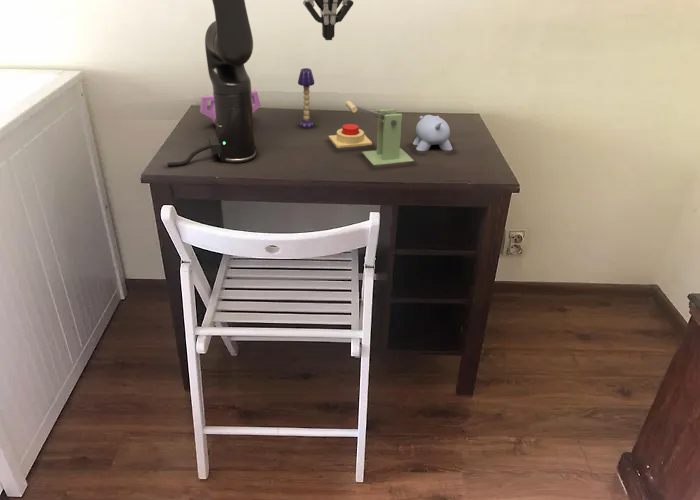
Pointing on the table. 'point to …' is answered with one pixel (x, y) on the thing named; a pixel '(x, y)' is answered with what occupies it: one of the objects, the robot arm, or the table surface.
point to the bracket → (388, 141)
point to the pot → (211, 112)
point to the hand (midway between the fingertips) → (328, 39)
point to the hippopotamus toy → (432, 133)
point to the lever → (365, 110)
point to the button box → (349, 139)
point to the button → (350, 129)
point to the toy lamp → (306, 95)
